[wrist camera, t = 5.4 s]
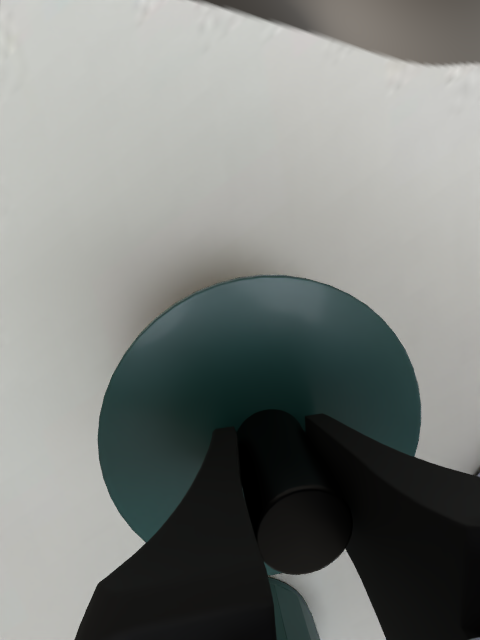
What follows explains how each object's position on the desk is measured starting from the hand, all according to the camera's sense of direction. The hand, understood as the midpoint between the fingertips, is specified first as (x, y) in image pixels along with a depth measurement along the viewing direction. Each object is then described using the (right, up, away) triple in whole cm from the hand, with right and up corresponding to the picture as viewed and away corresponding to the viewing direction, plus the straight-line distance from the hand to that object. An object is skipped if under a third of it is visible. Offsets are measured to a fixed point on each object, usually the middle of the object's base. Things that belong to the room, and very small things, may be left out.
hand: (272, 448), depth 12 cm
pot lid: (0, 0, +1) cm, 1 cm away
